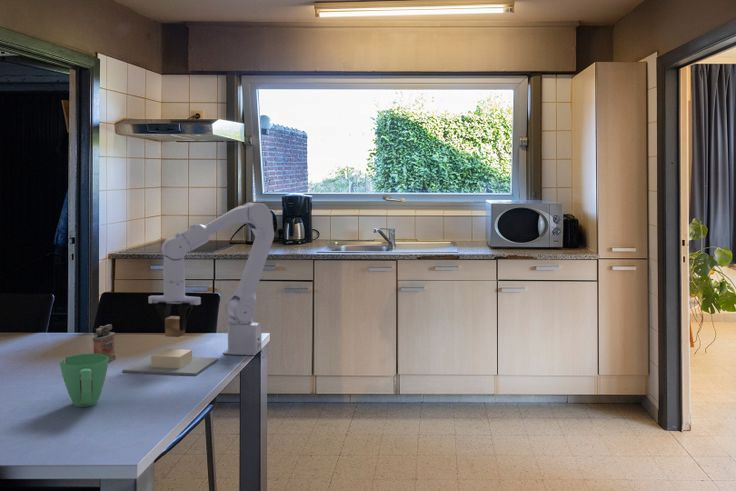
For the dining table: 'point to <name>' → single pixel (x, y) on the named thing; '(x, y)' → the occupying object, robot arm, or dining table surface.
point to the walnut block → (173, 327)
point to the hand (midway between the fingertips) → (174, 329)
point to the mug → (84, 377)
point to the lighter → (105, 342)
